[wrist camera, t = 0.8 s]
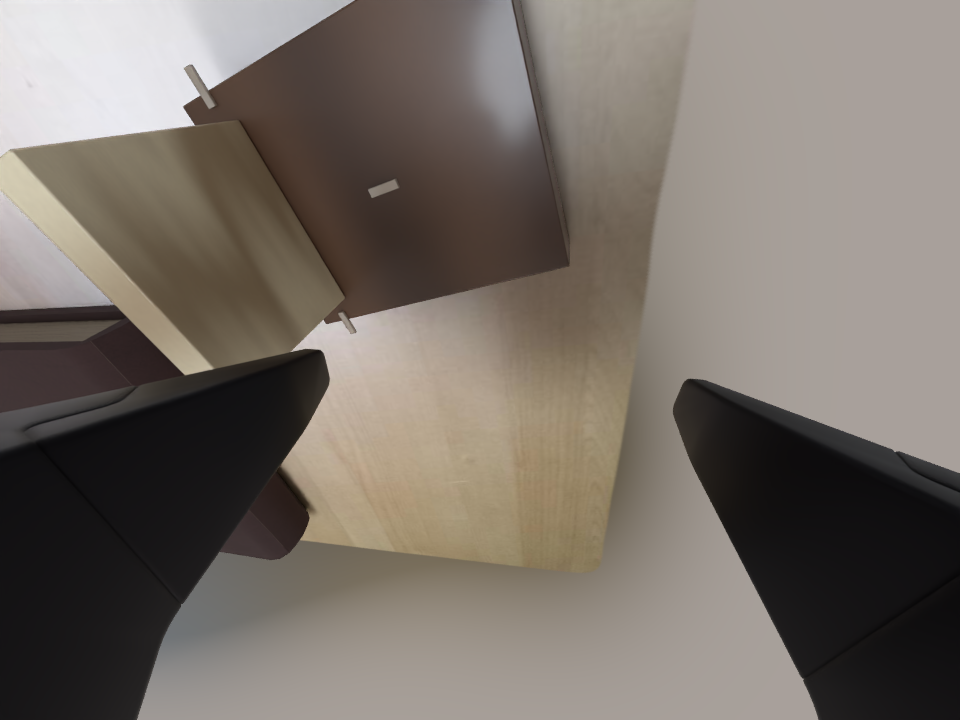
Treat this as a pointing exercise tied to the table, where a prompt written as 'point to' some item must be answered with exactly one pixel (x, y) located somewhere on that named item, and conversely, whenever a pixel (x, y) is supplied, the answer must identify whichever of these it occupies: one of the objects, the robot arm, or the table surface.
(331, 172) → the brown flat piece
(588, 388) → the table surface
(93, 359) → the book
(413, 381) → the table surface
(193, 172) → the red-cornered cream slab
